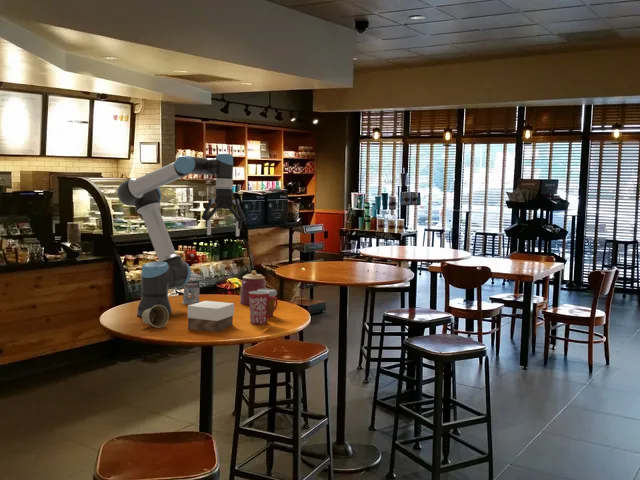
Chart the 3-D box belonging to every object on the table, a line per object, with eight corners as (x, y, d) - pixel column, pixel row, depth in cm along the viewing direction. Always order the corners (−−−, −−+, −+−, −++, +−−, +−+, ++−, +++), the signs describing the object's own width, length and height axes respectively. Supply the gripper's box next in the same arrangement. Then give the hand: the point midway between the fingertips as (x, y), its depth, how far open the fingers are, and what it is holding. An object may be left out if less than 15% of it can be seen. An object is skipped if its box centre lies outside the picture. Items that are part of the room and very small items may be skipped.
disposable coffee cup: (273, 318, 287) (273, 292, 286) (253, 317, 289) (253, 290, 288) (278, 314, 297) (279, 289, 296) (259, 313, 298) (259, 288, 298)
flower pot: (136, 326, 263) (146, 325, 257) (139, 303, 265) (150, 302, 259) (156, 329, 269) (166, 329, 263) (159, 307, 271) (170, 306, 265)
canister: (262, 308, 313) (262, 272, 311) (236, 306, 315) (237, 271, 313) (268, 303, 325) (269, 269, 324) (244, 302, 328) (245, 268, 326)
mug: (245, 324, 273) (246, 293, 272) (250, 320, 282) (251, 290, 281) (274, 326, 271) (275, 294, 270) (278, 321, 280) (279, 291, 279)
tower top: (187, 317, 261) (187, 305, 261) (205, 312, 274) (205, 300, 274) (217, 321, 256) (217, 308, 256) (234, 315, 269) (234, 303, 269)
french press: (199, 305, 314) (200, 255, 312) (175, 304, 314) (176, 254, 312) (203, 302, 324) (203, 253, 322) (180, 301, 324) (181, 252, 322)
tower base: (188, 330, 260) (188, 318, 260) (201, 323, 274) (202, 312, 273) (220, 333, 257) (220, 320, 257) (232, 326, 271) (232, 314, 270)
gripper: (194, 187, 284) (194, 234, 286) (248, 189, 279) (247, 237, 281) (201, 187, 291) (200, 233, 293) (253, 189, 287) (252, 236, 288)
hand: (223, 235), depth 287 cm, fingers open, 13 cm apart
